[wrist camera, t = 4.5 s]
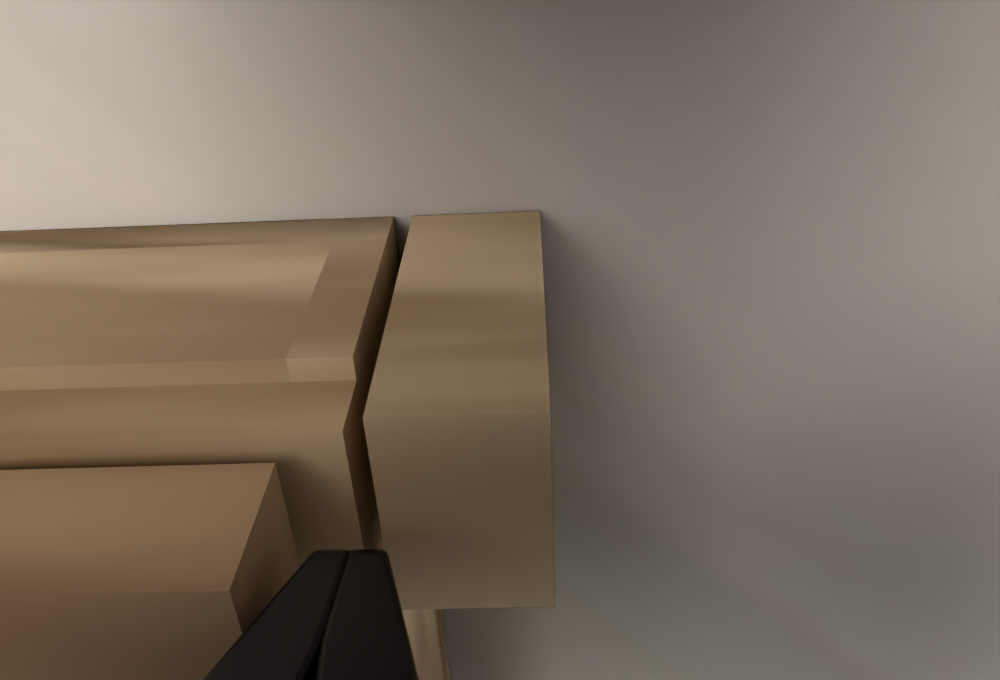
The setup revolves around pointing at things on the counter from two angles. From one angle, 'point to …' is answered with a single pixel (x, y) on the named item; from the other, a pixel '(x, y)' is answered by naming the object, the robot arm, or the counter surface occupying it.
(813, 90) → the counter surface
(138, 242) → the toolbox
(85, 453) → the lid
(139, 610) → the brown wooden bar
